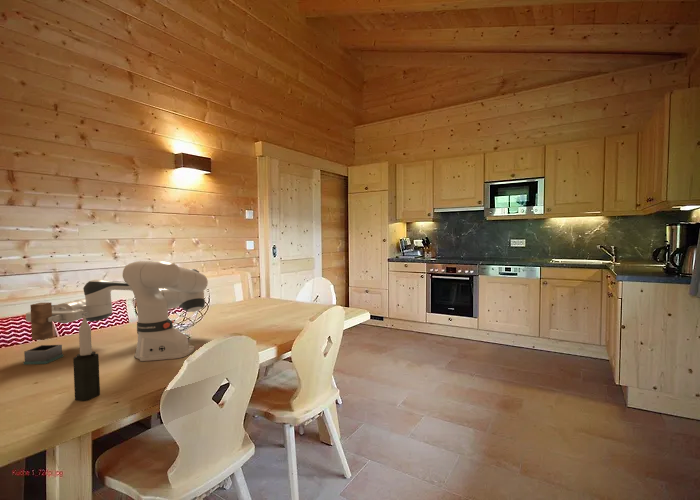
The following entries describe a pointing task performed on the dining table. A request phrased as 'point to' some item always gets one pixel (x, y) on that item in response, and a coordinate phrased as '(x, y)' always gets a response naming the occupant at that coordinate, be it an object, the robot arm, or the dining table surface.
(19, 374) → the dining table surface
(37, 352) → the keeper collar
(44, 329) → the link block
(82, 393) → the candle
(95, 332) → the dining table surface
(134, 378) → the dining table surface
